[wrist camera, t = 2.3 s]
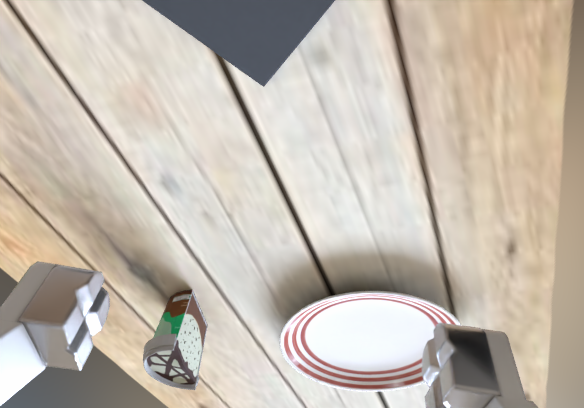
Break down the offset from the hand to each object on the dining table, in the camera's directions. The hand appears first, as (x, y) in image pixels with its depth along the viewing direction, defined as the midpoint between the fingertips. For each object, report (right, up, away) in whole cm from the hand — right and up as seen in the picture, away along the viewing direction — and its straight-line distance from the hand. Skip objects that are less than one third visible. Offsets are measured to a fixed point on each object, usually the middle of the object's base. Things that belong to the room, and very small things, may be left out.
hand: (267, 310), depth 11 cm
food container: (-16, -13, +58) cm, 62 cm away
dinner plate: (+13, -17, +59) cm, 63 cm away
